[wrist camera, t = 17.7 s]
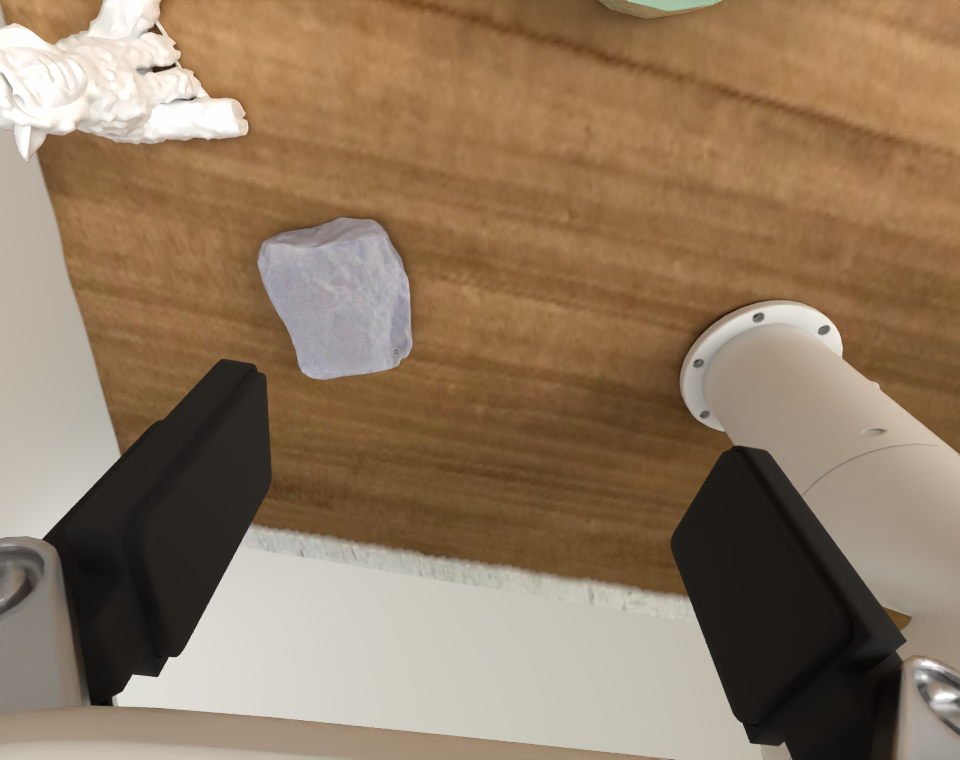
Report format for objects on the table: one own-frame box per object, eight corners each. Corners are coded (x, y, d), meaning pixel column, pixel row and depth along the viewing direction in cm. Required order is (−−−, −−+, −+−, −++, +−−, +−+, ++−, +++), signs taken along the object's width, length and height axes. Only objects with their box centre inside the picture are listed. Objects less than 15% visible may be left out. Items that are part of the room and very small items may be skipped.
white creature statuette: (260, 128, 32) (154, 154, 22) (162, 184, 34) (25, 232, 24) (155, -42, 28) (-40, -107, 17) (49, 35, 30) (-179, 17, 20)
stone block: (389, 202, 36) (255, 232, 36) (391, 219, 32) (241, 252, 32) (425, 339, 43) (313, 366, 42) (431, 367, 39) (307, 397, 38)
